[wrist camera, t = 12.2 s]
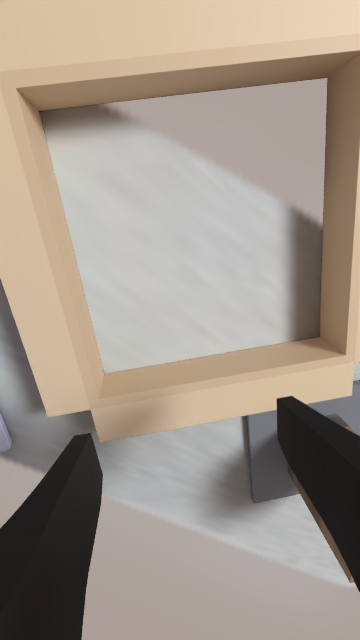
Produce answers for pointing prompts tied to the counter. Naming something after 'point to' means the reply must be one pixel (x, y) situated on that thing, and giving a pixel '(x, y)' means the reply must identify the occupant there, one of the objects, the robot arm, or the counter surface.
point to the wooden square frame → (158, 81)
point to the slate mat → (268, 455)
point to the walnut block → (314, 512)
